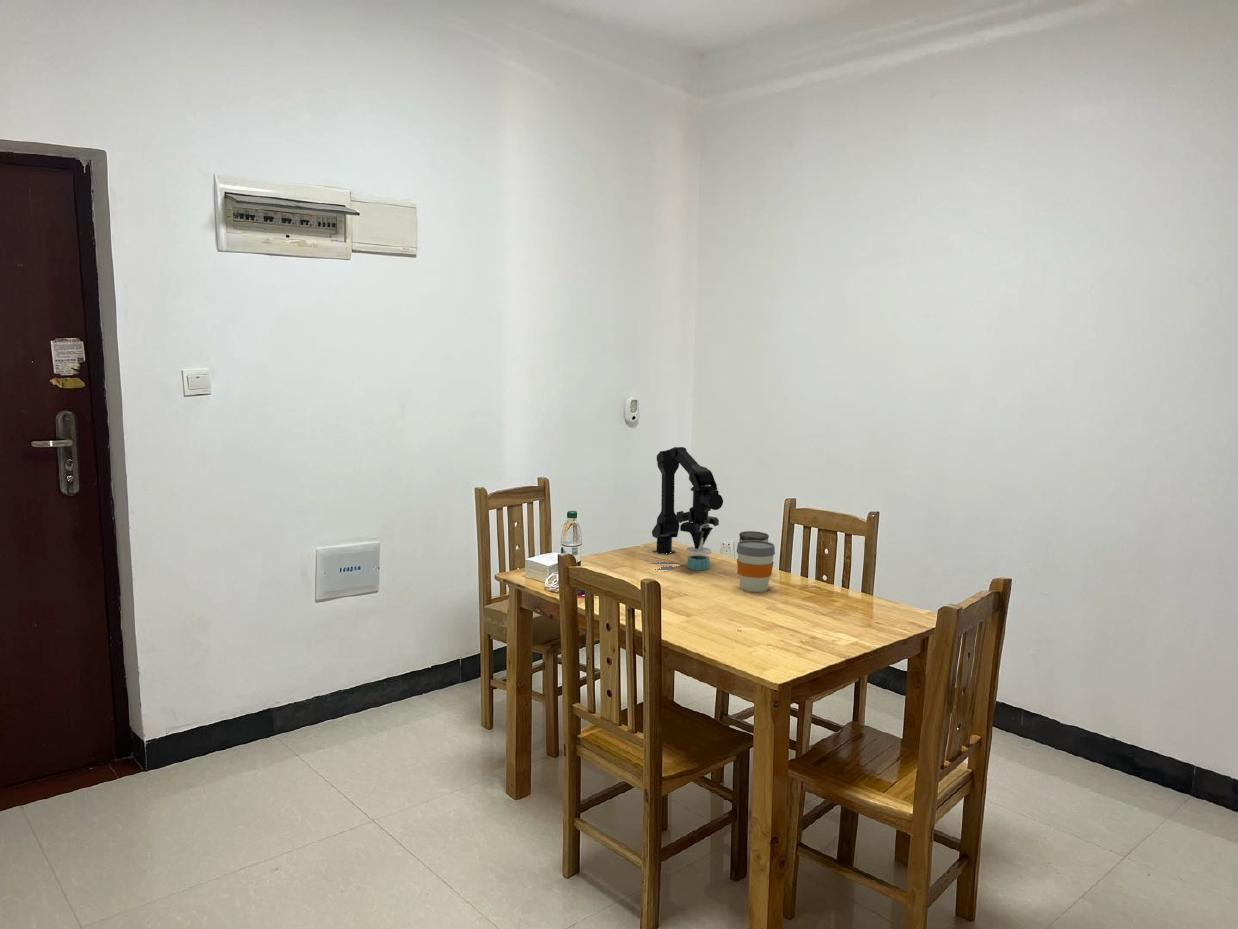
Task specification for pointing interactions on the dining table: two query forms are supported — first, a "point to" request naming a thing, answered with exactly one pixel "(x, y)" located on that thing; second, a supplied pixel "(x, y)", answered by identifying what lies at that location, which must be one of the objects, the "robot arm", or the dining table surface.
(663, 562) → the mat
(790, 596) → the dining table surface
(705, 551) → the lid
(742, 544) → the reusable coffee cup
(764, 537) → the coffee can
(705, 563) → the bowl
